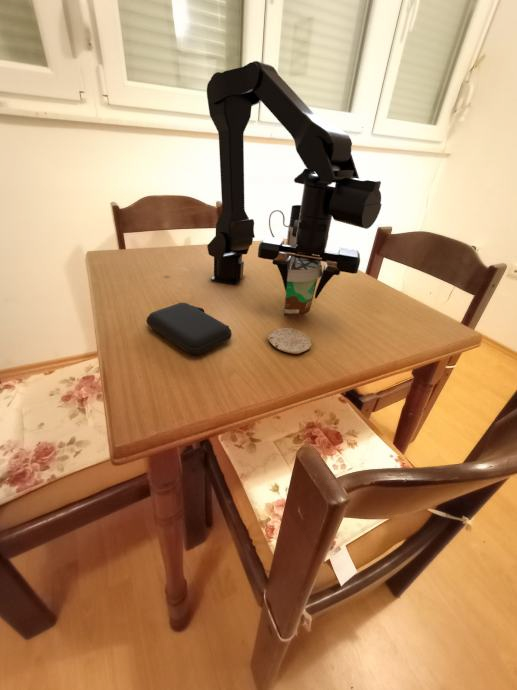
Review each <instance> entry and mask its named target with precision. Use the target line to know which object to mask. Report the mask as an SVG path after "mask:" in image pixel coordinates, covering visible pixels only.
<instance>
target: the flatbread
mask: <svg viewBox="0 0 517 690" xmlns="http://www.w3.org/2000/svg"><path fill="white" fill-rule="evenodd" d="M267 338H268V339H267V340H268V341H269V343H270V344H271V345H272V346H273V347H274V348H275V349H277V350H279V351H282V352H285V353H288V354H293V355H298V354H301V353H303V352H306V351H308V350H310V349H311V347H312V340H311V338H310V337H309V336H308V335H307V334H305V333H304V332H303V331H300V330H298V329H295V328H291V327H284V328H278V329H274V330H272V332H270V333H269V335H268V337H267Z"/></svg>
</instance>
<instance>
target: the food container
mask: <svg viewBox="0 0 517 690" xmlns="http://www.w3.org/2000/svg"><path fill="white" fill-rule="evenodd" d="M298 253H300V252H298ZM305 254H306V253H305ZM322 272H323V265H322V261H318V260H311V259H305V258H299V257H294V261H293V263H291V267H290V269H289V270H288V277H287V289H286V291H285V297H284V298H285V300H284V310H283V317H287V318H293V317H294V318H295V317H296V318H297V317H301V316H305V315H307V314H309V312H310V311H311V308H312V304H313V303H312V302H313V299H314V296H315V292H316V288H317V283H318V279H320V278H321V276H322Z"/></svg>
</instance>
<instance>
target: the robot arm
mask: <svg viewBox="0 0 517 690" xmlns="http://www.w3.org/2000/svg"><path fill="white" fill-rule="evenodd" d="M206 98H207V106H208V113H209V116H210V119H211V121H212V123H213V125H214V127H215V129H216V130H217V134H218V149H219V151H218V152H219V171H220V172H219V173H220V189H221V190H220V191H221V192H220V194H221V212H220V214H219V217H218V219H217V221H216V224H215V236H214V237H213V238H212V239H211V240H210V241H209V243H208V244H207V245H206V248H207V253H208V255H209V256H211V257H213V276H212V277H211V281H213V282H217V283H223V284H224V283H225V284H230V285H237V284H238V283H239V282H240V281H241V280H242V279H243V277H244V268H245V267H244V265H245V261H244V260H243V255H248V253H249V250H250V247H251V246H252V245H253V241H254V238H256V235H255V220H254V219H253V218H249V216H248V214H247V212H246V207H245V152H244V151H245V150H244V149H245V147H244V145H245V144H244V133H245V130H246V128H247V126H248V124H249V122H250V119H251V117H252V107H254V106H256V105H258V104H261V103H262V104H263V105H264V106H265V107H266V108H267V109H268V110H269V112H270V113H271V114H272V115H273V116H274V117H275V118H276V120H277V121H278V122H279V123H280V124H281V125H282V126H283V128H284V129H285V130H286V131H287V132H288V134H290V136H291V138H292V139H293V142H294V145H295V151H296V153H297V155H298V156H299V158H300V160H301V162H302V163H303V165H304V166H305V168H304V169H303V170H302V172H301V173H300V174H298V175H297V176H296V177H294V179H293V182H294V183H295V184H300V185H303V189H302V197H301V203H300V205H301V209H300V216H299V220H295V222H294V226H293V231H292V236H293V237H296V242H295V246H290V245H286V244H285V239H284V238H280V237H275V236H274V237H275V238H274V237H273V236H267V235H266V237H265V238H263V240H262V241H261V242H260V243H259V245H258V249H257V258H259V259H264V260H269V261H272V263H271V264H272V265H274V266H276V267H277V269H278V271H279V274H280V276H281V280H282V283H283V287H284V291H285V292H286V289H287V277H288V270H289V269H291V266H292V263H291V258H292V256H293V257H299V258H305V259H311V260H318V261H321V262H325V263H324V266H323V268H322V276H321V277H320V278H319V281H318V282H317V283H318V284H317V285H316V288H315V292H314V299H315V300H316V299H318V298H319V295H320V294H321V292H322V291H323V289H324V288H325V286H326V285H327V284H328V282H330V280H331V279H332V278H333V277H334V276H340V275H341V273H342V272H343V273H348V274H355V275H356V274H358V271H359V267H360V264H361V254H360V252H359V250H357V249H351V248H343V247H339V248H338V252H334V251H328V250H326V249H327V244H328V240H329V236H330V235H329V233H330V227H331V223H332V219H333V220H334V221H336V222H339V223H343V224H345V225H346V224H348V225H351V226H354V227H358V228H362V229H365V230H367V229H369V228H371V227H372V226H373V225H374V224H375V222H376V220H377V218H378V217H379V215H380V212H381V209H382V193H381V191H380V189H381V184H382V182H381V180H376V179H362V178H360V176H359V173H358V170H357V168H356V164H355V162H354V158H353V155H352V145H353V141H352V139H351V136H349V134H347V132H345V131H343V130H342V129H341V128H339V127H337V126H336V125H334V124H333V123H331V122H329V121H328V120H327V121H326V120H325V119H323V118H321V117H320V116H318V115H317V114H315V113H314V111H312V109H311V108H310V107H309V106H308V105H307V104H306V103H305V102H304V101H303V99H301V97H300V96H299V95H298V94H297V93H296V91H294V90H293V89H292V87H290V86H289V84H287V82H286V81H285V80H284V79H283V78H282V77H281V76H280V75H279V73H278V70H276V69H275V67H274V66H272V65H271V64H268V63H264V62H261V61H258V60H254V61H251V62H248V63H247V64H245V65H243V66H240V67H237V68H236V67H235V68H232V69H228V70H224V71H222V72H221V71H216V72H215V73H213V74H212V76H211V77H210V80H209V81H208V82H207V85H206ZM298 252H300V253H298ZM305 253H306V254H305Z"/></svg>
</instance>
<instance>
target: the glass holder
mask: <svg viewBox="0 0 517 690" xmlns="http://www.w3.org/2000/svg"><path fill="white" fill-rule="evenodd" d="M300 209H301V204H294V205H292V206H291V210H290V218H289V223H288V225H286V224H285V214H284V212H283V211H282V210H280V209H275V210H274V209H273V211H271V212H270V213H269V217H268V227H269V228H268V229H269V231H270V234H271V237H274V238H276V236H275V235H274V233H273V230H272V227H271V218H272V215H273V214H274V213H275V212H279V213H280V214H281V215H282V225H283V226H284V227H285V228H287V235H286V244H285V245H290V246H295V242H296V237H293V236H292V231H293V226H294V222H295V220H299V216H300ZM293 261H294V257H293V256H292V258H291V264H292V263H293Z"/></svg>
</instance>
